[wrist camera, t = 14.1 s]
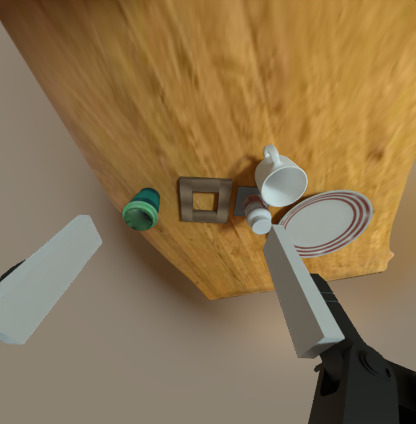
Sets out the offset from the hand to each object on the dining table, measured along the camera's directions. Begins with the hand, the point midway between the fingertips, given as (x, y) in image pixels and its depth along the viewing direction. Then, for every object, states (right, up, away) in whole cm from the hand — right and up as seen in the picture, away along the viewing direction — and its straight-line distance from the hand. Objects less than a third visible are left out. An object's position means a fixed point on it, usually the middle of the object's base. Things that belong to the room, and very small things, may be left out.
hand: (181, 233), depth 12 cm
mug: (+17, +14, +28) cm, 36 cm away
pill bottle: (+15, +4, +35) cm, 38 cm away
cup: (-14, +7, +35) cm, 38 cm away
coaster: (+15, +5, +35) cm, 39 cm away
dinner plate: (+37, -2, +40) cm, 54 cm away
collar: (+1, +5, +35) cm, 36 cm away
